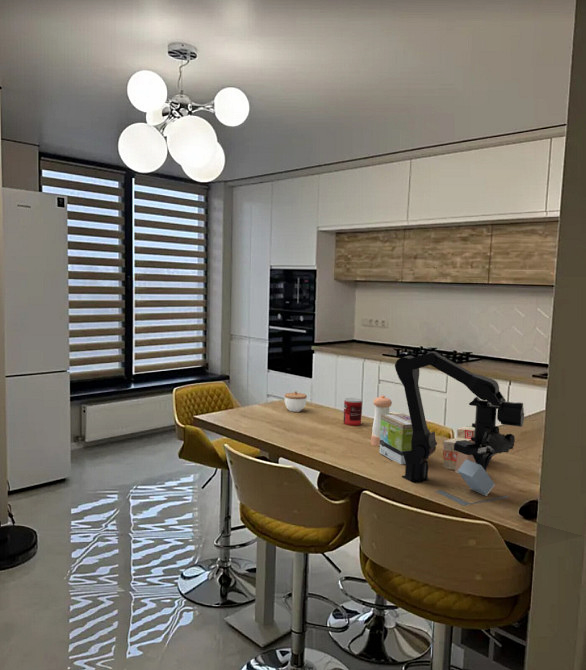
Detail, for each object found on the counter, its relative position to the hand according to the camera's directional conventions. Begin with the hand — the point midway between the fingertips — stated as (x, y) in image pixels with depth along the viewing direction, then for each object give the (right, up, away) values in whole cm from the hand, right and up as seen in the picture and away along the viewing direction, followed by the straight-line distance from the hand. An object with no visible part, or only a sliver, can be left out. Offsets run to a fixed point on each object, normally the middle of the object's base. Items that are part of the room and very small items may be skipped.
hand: (482, 473), depth 167 cm
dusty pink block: (+1, -5, +18) cm, 19 cm away
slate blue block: (0, -4, +1) cm, 4 cm away
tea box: (-18, -3, +33) cm, 38 cm away
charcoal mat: (-3, -6, -1) cm, 7 cm away
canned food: (-30, +1, +83) cm, 88 cm away
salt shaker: (-22, -1, +51) cm, 55 cm away
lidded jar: (-55, +4, +105) cm, 119 cm away
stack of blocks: (+5, -4, +28) cm, 29 cm away
